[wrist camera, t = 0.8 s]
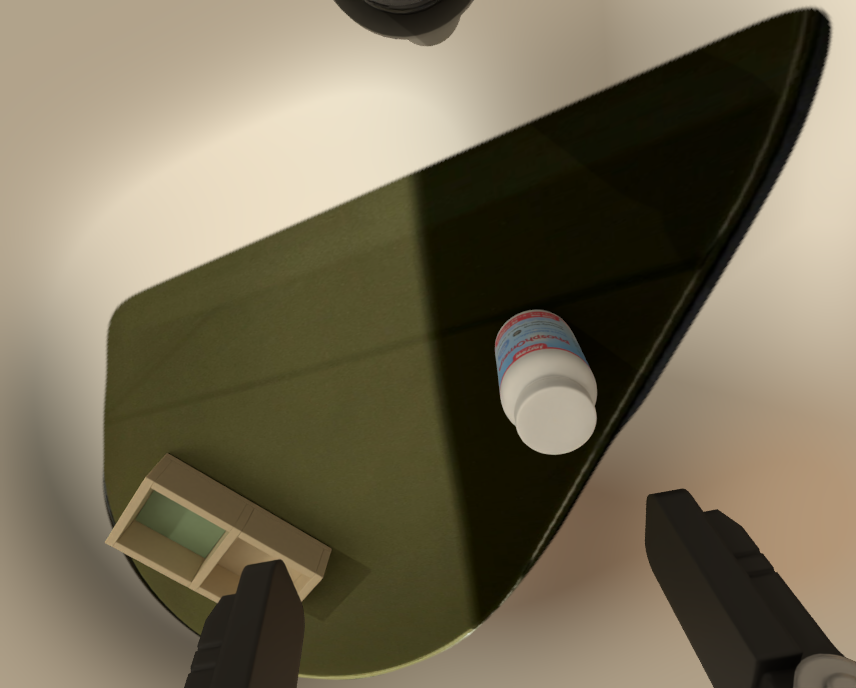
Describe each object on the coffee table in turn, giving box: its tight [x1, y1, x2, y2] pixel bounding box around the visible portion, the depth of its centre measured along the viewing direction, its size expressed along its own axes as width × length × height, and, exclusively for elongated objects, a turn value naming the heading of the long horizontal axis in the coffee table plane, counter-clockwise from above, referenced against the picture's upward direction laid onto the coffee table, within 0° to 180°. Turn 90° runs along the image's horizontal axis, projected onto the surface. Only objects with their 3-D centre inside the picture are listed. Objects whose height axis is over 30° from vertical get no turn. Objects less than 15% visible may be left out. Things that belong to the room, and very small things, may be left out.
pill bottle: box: [495, 310, 597, 455], centre depth 36 cm, size 6×6×11 cm
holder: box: [105, 453, 332, 603], centre depth 49 cm, size 17×9×4 cm, turn 54°
